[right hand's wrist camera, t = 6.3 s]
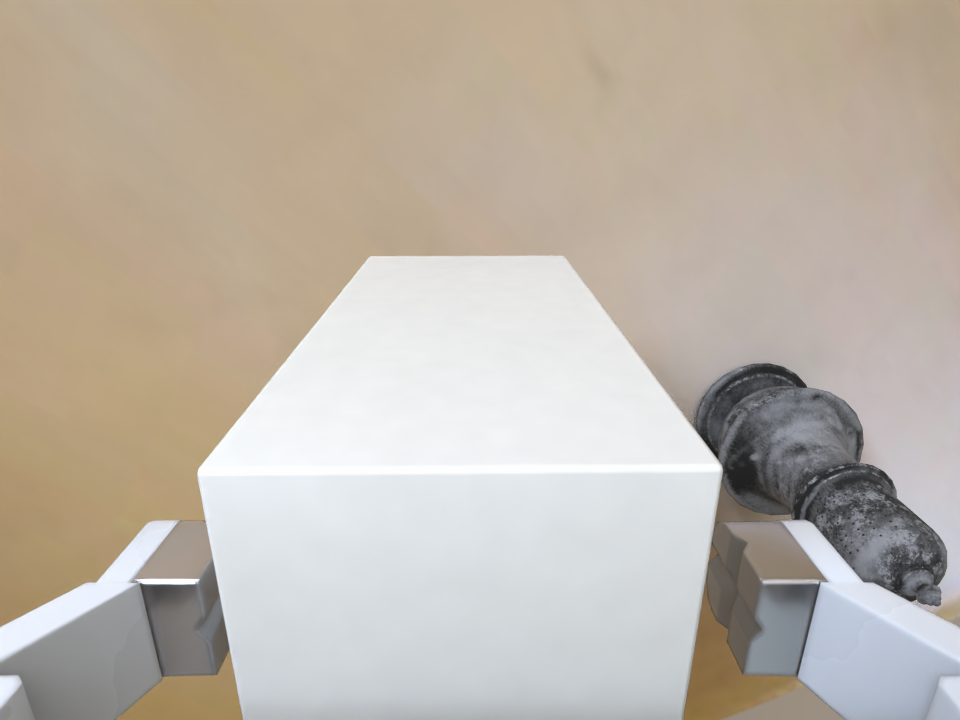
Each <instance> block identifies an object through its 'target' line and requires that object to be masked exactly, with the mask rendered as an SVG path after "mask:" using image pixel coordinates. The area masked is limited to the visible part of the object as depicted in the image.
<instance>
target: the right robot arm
mask: <svg viewBox="0 0 960 720" xmlns="http://www.w3.org/2000/svg"><path fill="white" fill-rule="evenodd" d="M712 544H713V546H714V548H715V549H716V551H717V553H718V554H717V555H716V556H715V557H714V558H713V559H712V560H711V561H710V562H709V563H708V569H707V577H706V585H707V596H708V600H709V603H710V607H711V610H712V612H713V614H714V616H715V618H716V621H718V622H719V623H720V624H722V625H723V626H725V627H726V628H727V629H729V631H728V637H727V643H728V645H729V647H730V649H731V651H732V653H733V655H734V657H735V659H736V661H737V663H738V665H739V668H740V670H741V672H742V674H743V675H761V676H796V677H798V678H797V679H798V680H799V681H800V682H801V683H802V684H804V685H805V686H806V687H807V688H808V689H810V690H811V691H812V692H813V693H814V694H815V695H816V696H818V697H819V698H820V699H821V700H822V701H823V702H825V703H826V704H827V705H828V706H829V707H830V708H832V709H833V710H834V711H835V712H836V713H837V714H839V715H840V716H841V717H842V718H843V719H844V720H960V627H958V626H956V625H954V624H952V623H950V622H948V621H947V620H945V619H943V618H941V617H939V616H937V615H935V614H933V613H931V612H929V611H927V610H925V609H923V608H921V607H919V606H918V605H916V604H914V603H912V602H910V601H908V600H906V599H904V598H902V597H900V596H898V595H896V594H894V593H892V592H891V591H889V590H887V589H885V588H883V587H881V586H879V585H877V584H875V583H864V582H863V581H862V580H861V579H860V578H859V576H858V575H857V574H856V573H855V572H854V571H853V569H852V568H851V567H850V566H849V565H848V564H847V563H846V561H845V560H844V559H843V558H842V557H841V556H840V554H839V553H838V552H837V551H836V550H835V549H834V547H833V546H832V545H831V544H830V543H829V542H828V540H827V539H826V538H825V537H824V536H823V535H822V534H821V532H820V531H819V530H818V529H817V528H816V527H815V525H814V524H813V523H811V522H809V521H807V520H780V521H765V522H717V524H716V526H715V528H714V531H713V537H712ZM229 649H230V647H229V642H228V636H227V631H226V626H225V620H224V615H223V610H222V604H221V599H220V594H219V588H218V583H217V578H216V572H215V567H214V562H213V556H212V551H211V545H210V540H209V535H208V529H207V524H206V521H199V520H184V521H181V520H155V521H152V522H149V523H147V524H146V525H145V527H144V528H143V529H142V530H141V531H140V532H139V533H138V535H137V536H136V537H135V538H134V539H133V540H132V542H131V543H130V544H129V545H128V546H127V547H126V549H125V550H124V551H123V552H122V553H121V554H120V556H119V557H118V558H117V559H116V560H115V561H114V562H113V564H112V565H111V566H110V567H109V568H108V569H107V571H106V572H105V573H104V574H103V575H102V576H101V578H100V579H99V580H98V581H97V582H96V583H85V584H83V585H81V586H79V587H77V588H75V589H73V590H71V591H69V592H68V593H66V594H64V595H62V596H60V597H58V598H56V599H54V600H52V601H50V602H48V603H46V604H44V605H42V606H40V607H38V608H37V609H35V610H33V611H31V612H29V613H27V614H25V615H23V616H21V617H19V618H17V619H15V620H13V621H11V622H9V623H7V624H6V625H4V626H2V627H0V720H116V719H117V718H118V717H119V716H120V715H122V714H123V713H124V712H125V711H126V710H127V709H129V708H130V707H131V706H132V705H133V704H134V703H136V702H137V701H138V700H139V699H140V698H141V697H143V696H144V695H145V694H146V693H147V692H149V691H150V690H151V689H152V688H153V687H154V686H156V685H157V684H158V683H159V682H160V681H161V680H162V677H163V676H198V675H217V674H218V672H219V670H220V668H221V666H222V664H223V662H224V660H225V657H226V655H227V653H228V651H229Z"/></svg>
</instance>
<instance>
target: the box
mask: <svg viewBox="0 0 960 720" xmlns="http://www.w3.org/2000/svg"><path fill="white" fill-rule="evenodd" d="M722 474H723V468H722V465H721V463H720V462H719V461H718V459H717V458H716V457H715V455H714V454H713V453H712V451H711V450H710V449H709V447H708V446H707V445H706V443H705V442H704V441H703V439H702V438H701V437H700V435H699V434H698V433H697V431H696V430H695V429H694V427H693V426H692V425H691V423H690V422H689V421H688V419H687V418H686V417H685V415H684V414H683V413H682V411H681V410H680V409H679V408H678V406H677V405H676V404H675V402H674V401H673V400H672V398H671V397H670V396H669V394H668V393H667V392H666V390H665V389H664V388H663V386H662V385H661V384H660V382H659V381H658V380H657V378H656V377H655V376H654V374H653V373H652V372H651V370H650V369H649V368H648V366H647V365H646V364H645V362H644V361H643V360H642V358H641V357H640V356H639V354H638V353H637V352H636V350H635V349H634V348H633V346H632V345H631V344H630V342H629V341H628V340H627V338H626V337H625V336H624V334H623V333H622V332H621V330H620V329H619V328H618V326H617V325H616V324H615V323H614V321H613V320H612V319H611V317H610V316H609V315H608V313H607V312H606V311H605V309H604V308H603V307H602V305H601V304H600V303H599V301H598V300H597V299H596V297H595V296H594V295H593V293H592V292H591V291H590V289H589V288H588V287H587V285H586V284H585V283H584V281H583V280H582V279H581V277H580V276H579V275H578V273H577V272H576V271H575V269H574V268H573V267H572V265H571V264H570V263H569V261H568V260H567V259H566V257H565V256H371V257H369V258H368V259H367V261H366V262H365V263H364V264H363V265H362V267H361V268H360V269H359V270H358V272H357V273H356V274H355V275H354V277H353V278H352V279H351V280H350V282H349V283H348V284H347V285H346V287H345V288H344V289H343V290H342V292H341V293H340V294H339V295H338V297H337V298H336V299H335V300H334V301H333V303H332V304H331V305H330V306H329V308H328V309H327V310H326V311H325V313H324V314H323V315H322V316H321V318H320V319H319V320H318V321H317V323H316V324H315V325H314V326H313V328H312V329H311V330H310V331H309V332H308V334H307V335H306V336H305V337H304V339H303V340H302V341H301V342H300V344H299V345H298V346H297V347H296V349H295V350H294V351H293V352H292V354H291V355H290V356H289V357H288V359H287V360H286V361H285V362H284V363H283V365H282V366H281V367H280V368H279V370H278V371H277V372H276V373H275V375H274V376H273V377H272V378H271V380H270V381H269V382H268V383H267V385H266V386H265V387H264V388H263V390H262V391H261V392H260V393H259V395H258V396H257V397H256V398H255V399H254V401H253V402H252V403H251V404H250V406H249V407H248V408H247V409H246V411H245V412H244V413H243V414H242V416H241V417H240V418H239V419H238V421H237V422H236V423H235V424H234V426H233V427H232V428H231V429H230V430H229V432H228V433H227V434H226V435H225V437H224V438H223V439H222V440H221V442H220V443H219V444H218V445H217V447H216V448H215V449H214V450H213V452H212V453H211V454H210V455H209V457H208V458H207V459H206V460H205V461H204V463H203V464H202V465H201V466H200V468H199V470H198V481H199V487H200V492H201V497H202V503H203V508H204V513H205V519H206V524H207V529H208V535H209V540H210V545H211V551H212V556H213V562H214V567H215V572H216V578H217V583H218V588H219V594H220V599H221V604H222V610H223V615H224V620H225V626H226V631H227V636H228V642H229V647H230V653H231V658H232V663H233V669H234V674H235V679H236V685H237V690H238V695H239V701H240V706H241V711H242V717H243V720H683V717H684V711H685V705H686V698H687V692H688V686H689V680H690V673H691V667H692V661H693V655H694V649H695V642H696V636H697V630H698V624H699V617H700V611H701V605H702V599H703V592H704V586H705V580H706V574H707V568H708V561H709V555H710V549H711V543H712V536H713V530H714V524H715V518H716V512H717V505H718V499H719V493H720V487H721V480H722Z"/></svg>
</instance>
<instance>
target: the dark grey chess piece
mask: <svg viewBox="0 0 960 720" xmlns="http://www.w3.org/2000/svg"><path fill="white" fill-rule="evenodd" d="M696 427H697V432H698V434H699V435H700V437H701V438H702V439H703V441H704V442H705V443H706V445H707V446H708V447H709V449H710V450H711V451H712V453H713V454H714V455H715V457H716V458H717V459H718V461H719V462H720V463H721V465H722V468H723V474H722V480H721V481H722V483H723V485H724V486H725V488H726V490H727V492H728V493H729V494H730V495H731V496H732V497H733V498H734V499H735V500H736V501H737V502H738V503H739V504H740V505H742V506H744V507H746V508H748V509H750V510H752V511H754V512H759V513H764V514H769V515H789V514H792V520H807V521H809V522H811V523H813V524H814V525H815V527H816V528H817V529H818V530H819V531H820V532H821V534H822V535H823V536H824V537H825V538H826V539H827V540H828V542H829V543H830V544H831V545H832V546H833V547H834V549H835V550H836V551H837V552H838V553H839V554H840V556H841V557H842V558H843V559H844V560H845V561H846V563H847V564H848V565H849V566H850V567H851V568H852V569H853V571H854V572H855V573H856V574H857V575H858V576H859V578H860V579H861V580H862V581H863V582H864V583H875V584H877V585H879V586H881V587H883V588H885V589H887V590H889V591H891V592H892V593H894V594H896V595H898V596H900V597H902V598H904V599H906V600H908V601H910V602H911V601H914V600H917V601H918V602H919V603H921V604H928V605H930V606H932V605H935V606H940V604H941V602H940V601H941V596H940V595H941V590H940V588H939V587H938V586H937V585H938V584H939V583H940V581H941V580H942V578H943V577H944V575H945V572H946V569H947V550H946V548H945V545H944V543H943V541H942V540H941V538H940V537H939V536H938V535H937V533H936V532H935V531H934V530H933V529H932V528H931V527H929V526H928V525H927V524H926V523H925V522H924V521H923V520H921V519H920V518H919V517H918V516H917V515H916V514H914V513H913V512H912V511H911V510H910V509H909V508H907V507H906V506H905V505H904V504H903V503H902V502H901V501H899V500H898V499H897V495H896V489H895V486H894V484H893V481H892V480H891V479H890V478H889V477H888V475H887V474H886V473H885V472H884V471H882V470H880V469H878V468H876V467H875V466H873V465H868V464H863V463H859V462H860V458H861V454H862V450H863V445H864V442H863V429H862V426H861V424H860V421H859V419H858V417H857V414H856V413H855V412H854V411H853V409H852V408H851V407H850V406H849V405H848V404H847V403H846V402H845V401H844V400H842V399H840V398H839V397H837V396H835V395H833V394H832V393H830V392H827V391H823V390H818V389H814V388H807V386H806V384H805V383H804V382H803V381H802V380H801V379H800V378H799V377H798V376H797V375H796V374H795V373H793V372H791V371H790V370H788V369H786V368H784V367H782V366H777V365H773V364H751V365H748V366H744V367H740V368H737V369H735V370H733V371H732V372H730V373H728V374H726V375H724V376H723V377H722V378H720V379H719V380H718V381H717V382H716V383H715V384H713V385H712V386H711V388H710V389H709V390H708V392H707V393H706V395H705V396H704V397H703V399H702V402H701V404H700V407H699V409H698V413H697V421H696Z"/></svg>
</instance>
